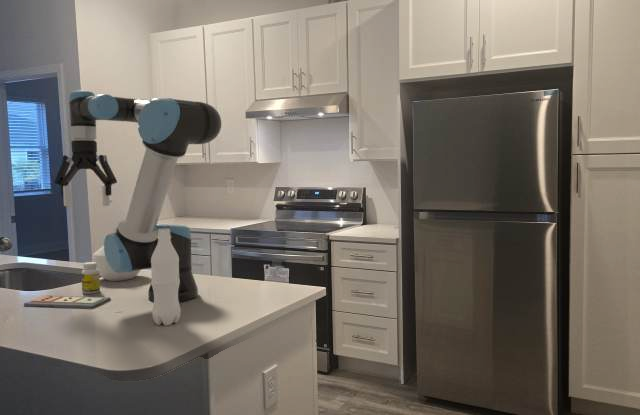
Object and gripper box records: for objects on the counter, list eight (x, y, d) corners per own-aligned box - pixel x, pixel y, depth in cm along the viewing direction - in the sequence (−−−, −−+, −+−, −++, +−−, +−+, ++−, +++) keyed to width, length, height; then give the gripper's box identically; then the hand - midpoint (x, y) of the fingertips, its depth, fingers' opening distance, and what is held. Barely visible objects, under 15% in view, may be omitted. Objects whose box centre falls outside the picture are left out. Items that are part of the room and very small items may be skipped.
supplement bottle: (78, 293, 176) (77, 263, 175) (91, 289, 181) (90, 261, 180) (91, 294, 174) (89, 264, 173) (103, 291, 179) (102, 262, 178)
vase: (155, 277, 200) (153, 226, 198) (108, 286, 186) (106, 231, 185) (129, 271, 212) (128, 223, 211) (84, 278, 198) (81, 227, 197)
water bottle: (165, 328, 137) (162, 231, 135) (146, 324, 141) (143, 229, 139) (186, 321, 143) (184, 228, 141) (167, 317, 147) (165, 226, 145)
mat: (110, 299, 167) (110, 295, 166) (92, 308, 157) (92, 304, 157) (45, 297, 170) (45, 293, 170) (24, 306, 160) (23, 301, 160)
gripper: (126, 140, 175) (128, 204, 177) (55, 141, 178) (58, 204, 180) (114, 139, 168) (116, 206, 169) (40, 140, 171) (44, 206, 173)
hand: (86, 205), depth 175 cm, fingers open, 13 cm apart
